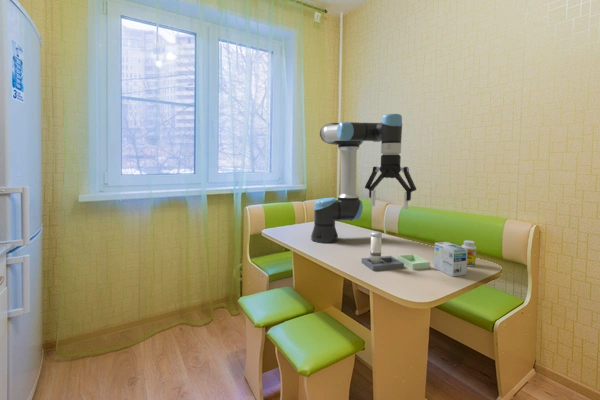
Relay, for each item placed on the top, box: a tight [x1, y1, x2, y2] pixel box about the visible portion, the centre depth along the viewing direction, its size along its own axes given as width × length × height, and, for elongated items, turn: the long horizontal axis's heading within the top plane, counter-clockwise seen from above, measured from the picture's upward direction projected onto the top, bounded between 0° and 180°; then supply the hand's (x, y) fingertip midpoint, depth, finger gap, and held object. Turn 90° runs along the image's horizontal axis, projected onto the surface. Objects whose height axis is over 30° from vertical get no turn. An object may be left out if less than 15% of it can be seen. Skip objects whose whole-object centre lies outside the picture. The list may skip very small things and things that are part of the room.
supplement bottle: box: [461, 239, 477, 267], centre depth 125 cm, size 6×6×10 cm
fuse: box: [369, 231, 383, 264], centre depth 122 cm, size 4×4×14 cm
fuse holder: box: [361, 255, 405, 272], centre depth 124 cm, size 10×14×2 cm
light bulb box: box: [433, 241, 468, 277], centre depth 118 cm, size 11×7×11 cm, turn 17°
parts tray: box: [396, 253, 431, 271], centre depth 125 cm, size 11×8×3 cm
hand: (388, 207), depth 120 cm, fingers open, 13 cm apart
